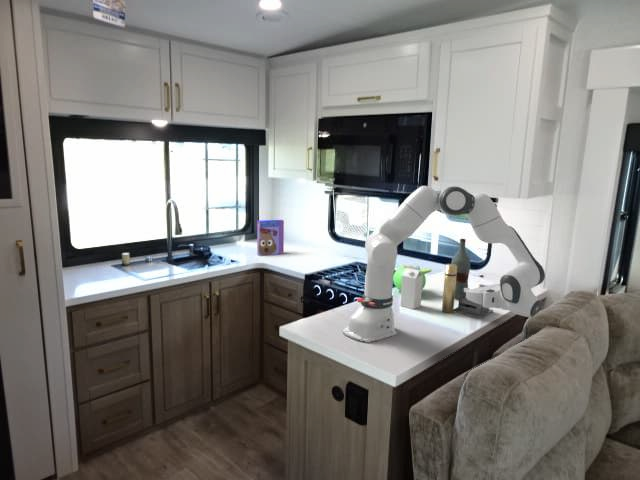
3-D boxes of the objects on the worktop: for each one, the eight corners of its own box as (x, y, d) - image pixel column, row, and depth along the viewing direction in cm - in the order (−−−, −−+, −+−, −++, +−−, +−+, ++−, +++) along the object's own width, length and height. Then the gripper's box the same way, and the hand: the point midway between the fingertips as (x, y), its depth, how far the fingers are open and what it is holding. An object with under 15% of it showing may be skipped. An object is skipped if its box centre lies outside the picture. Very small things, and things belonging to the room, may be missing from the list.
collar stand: (480, 319, 193) (481, 305, 191) (453, 311, 202) (454, 297, 200) (493, 312, 202) (494, 298, 200) (466, 304, 211) (467, 291, 209)
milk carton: (407, 302, 213) (409, 264, 209) (420, 305, 208) (423, 266, 205) (400, 305, 207) (402, 267, 204) (413, 309, 203) (416, 269, 199)
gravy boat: (387, 288, 235) (389, 261, 232) (416, 286, 239) (418, 260, 236) (401, 298, 217) (403, 270, 215) (432, 296, 222) (434, 268, 219)
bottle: (454, 300, 216) (459, 241, 210) (444, 295, 225) (449, 237, 219) (471, 299, 219) (476, 240, 213) (460, 293, 227) (465, 237, 222)
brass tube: (449, 314, 197) (453, 267, 193) (439, 311, 201) (443, 265, 197) (455, 311, 201) (459, 265, 197) (445, 308, 205) (449, 263, 200)
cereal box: (259, 256, 300) (259, 221, 295) (257, 254, 304) (257, 220, 299) (283, 254, 306) (283, 220, 302) (281, 252, 311) (281, 219, 306)
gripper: (517, 285, 181) (489, 277, 193) (484, 293, 171) (456, 284, 182) (515, 300, 182) (487, 291, 194) (482, 308, 172) (455, 298, 183)
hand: (472, 287), depth 188 cm, fingers open, 8 cm apart
